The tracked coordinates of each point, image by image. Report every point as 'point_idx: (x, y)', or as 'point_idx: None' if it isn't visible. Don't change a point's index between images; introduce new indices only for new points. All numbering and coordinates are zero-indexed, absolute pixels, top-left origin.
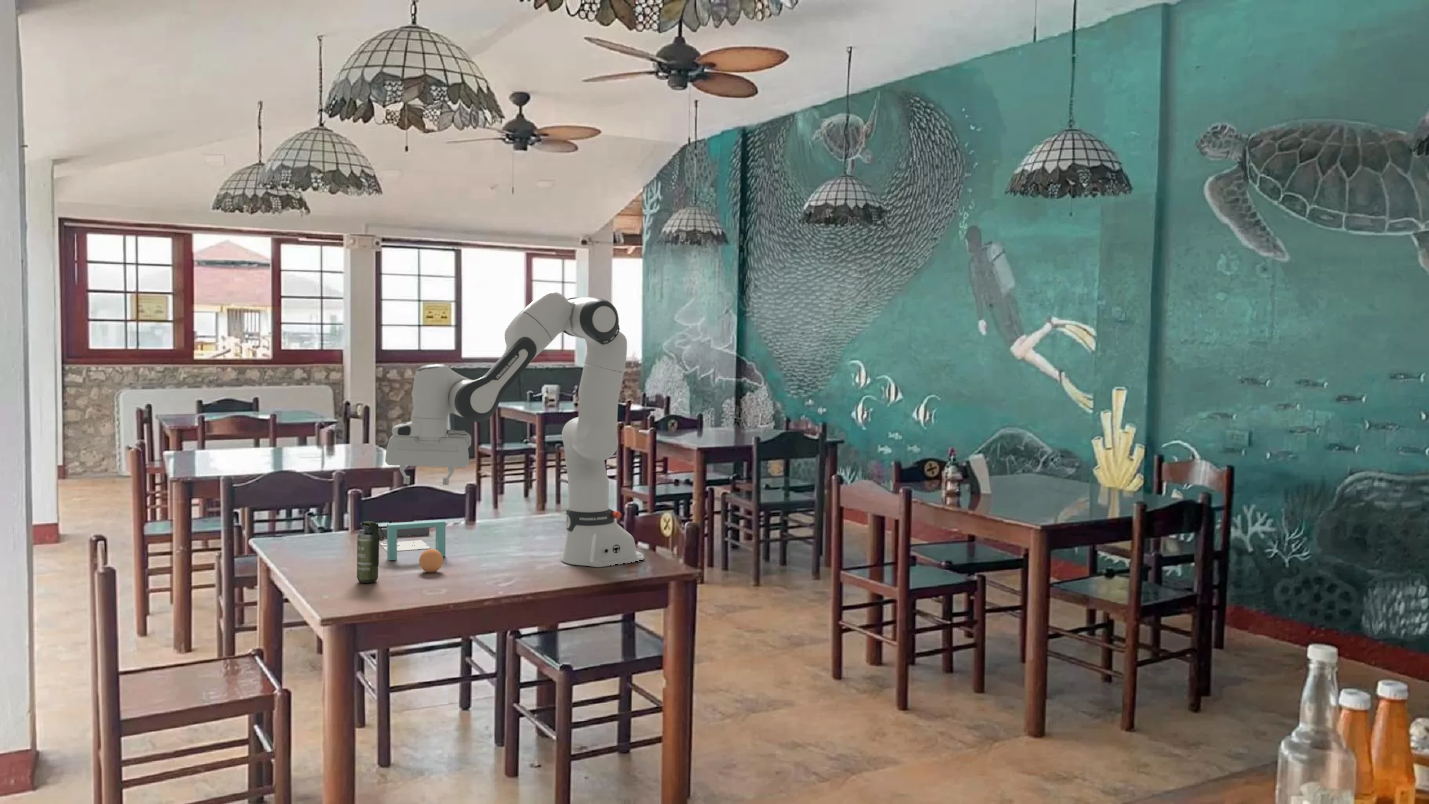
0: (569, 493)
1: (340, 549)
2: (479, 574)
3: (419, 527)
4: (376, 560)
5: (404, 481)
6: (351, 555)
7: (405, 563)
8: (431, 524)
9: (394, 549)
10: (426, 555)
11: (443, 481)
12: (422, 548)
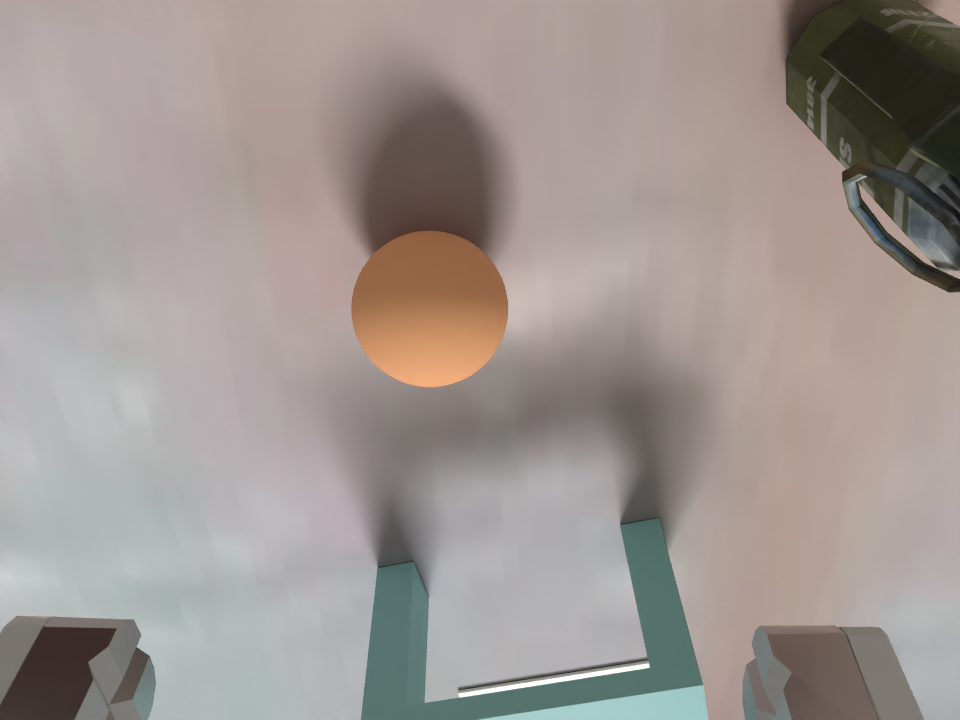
0: None
1: None
2: (114, 174)
3: (514, 690)
4: (855, 46)
5: (879, 651)
6: (822, 624)
7: (578, 469)
8: (443, 714)
9: (642, 568)
10: (458, 284)
11: (88, 665)
12: (495, 690)
